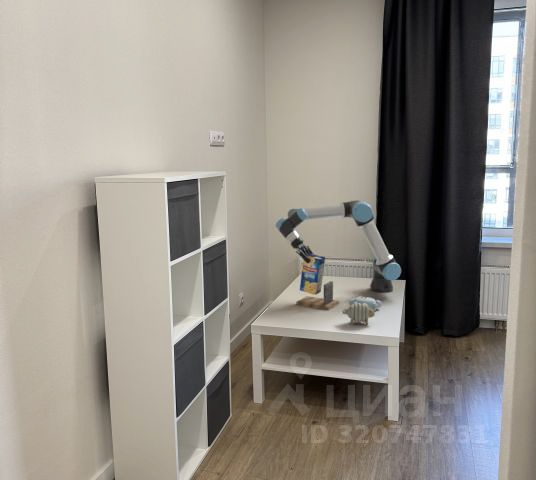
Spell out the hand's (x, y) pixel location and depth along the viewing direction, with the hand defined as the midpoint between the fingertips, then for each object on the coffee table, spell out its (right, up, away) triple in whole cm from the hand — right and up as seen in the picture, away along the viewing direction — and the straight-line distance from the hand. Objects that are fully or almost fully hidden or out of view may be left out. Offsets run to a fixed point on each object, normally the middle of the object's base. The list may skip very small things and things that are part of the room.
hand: (319, 270), depth 316 cm
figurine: (+26, -23, -6) cm, 35 cm away
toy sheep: (+18, -27, -30) cm, 44 cm away
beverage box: (-5, -13, +6) cm, 15 cm away
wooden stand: (-1, -21, +5) cm, 22 cm away
